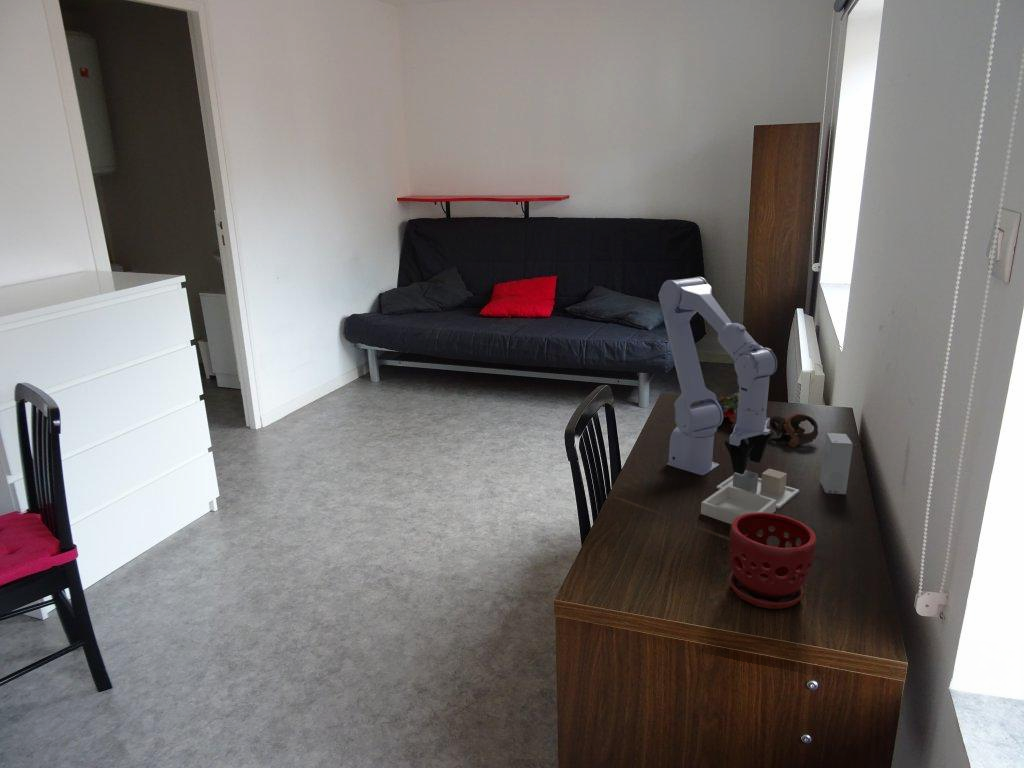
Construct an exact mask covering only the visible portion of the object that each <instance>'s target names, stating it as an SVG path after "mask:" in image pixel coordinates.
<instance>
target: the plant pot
mask: <svg viewBox="0 0 1024 768" xmlns="http://www.w3.org/2000/svg"><path fill="white" fill-rule="evenodd" d="M770 527H773V528H774V529H773V530H771V529H770ZM759 530H761V531H763V532H762V534H759V535H758V534H757V532H758V531H759ZM729 531H730V532H729V542H728V552H729V561H730V566H731V569H732V572H731V573H730V575H729V579H728V580H729V584H730V585H729V586H730V587H731V589H732V590H733V592H734V593H735V595H737V596H738V597H739V598H740V599H742V600H744V601H745V602H748V603H749V604H751V605H753V606H755V607H760V608H764V609H775V610H779V609H787V608H790V607H793V606H795V605H796V604H798V602H799V601H800V600H801V599H802V597H804V588H803V584H804V583H805V581H806V580H807V578H808V576H809V574H810V570H811V568H812V565H813V562H814V556H815V552H816V548H817V547H816V545H817V536H816V533H815V532H814V531H813V530H812V528H811V527H809V526H808V525H806V524H805V523H803V522H801V521H799V520H797V519H795V518H792V517H788V516H786V515H781V514H777V513H763V512H757V513H747V514H743V515H740V516H738V517H736V518H735V519H734V520H733V522H732V524H730V530H729ZM746 531H747V533H746V534H745V532H746ZM785 533H787V534H788V536H786V535H785ZM769 537H776V538H777V539H778V540H779V544H778V546H771V545H769V543H768V538H769ZM797 539H799V541H800V544H798V542H797ZM786 542H788V543H790V544H791V547H787V546H786V544H787V543H786Z"/></svg>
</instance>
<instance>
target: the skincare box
mask: <svg viewBox="0 0 1024 768" xmlns="http://www.w3.org/2000/svg"><path fill="white" fill-rule="evenodd" d="M853 446H854V443H852V440H851V439H850V438H849V436H848V435H847V433H833V432H827V433H826V435H825V444H824V450H823V456H822V465H821V471H820V472H821V473H820V481H819V482H820V484H821V486H822V489H823V491H824V493H826V494H837V495H847V490H848V489H847V488H848V482H849V481H848V480H849V474H850V469H851V468H850V467H851V461H852V453H853Z"/></svg>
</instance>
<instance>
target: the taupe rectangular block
mask: <svg viewBox="0 0 1024 768" xmlns="http://www.w3.org/2000/svg"><path fill="white" fill-rule="evenodd" d="M787 476H788V474H787V473H786V472H783V471H780V470H775V469H772V468H767V469H766V470H765V471H763V472H762V473H761V489H760V490H761V491H764V492H767V493H770V494H774V495H777V496H779V495H780V494H782V493H783V492H784V491H785V488H786V486H787V485H786V484H787Z"/></svg>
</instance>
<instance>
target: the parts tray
mask: <svg viewBox="0 0 1024 768" xmlns="http://www.w3.org/2000/svg"><path fill="white" fill-rule="evenodd" d="M761 479H762V477H761V478H760V477H758V485H757V491H756V492H754V493H756V494H759V495H762V496H765V497H769V498H772V499H775V500H777V501H776V509H781V508H782V507H783V506H784V505H786V504H787V502H789V501H791V500H792V499H794V497H795V496H797V494H799V493H800V489H798V488H794V487H791V486H787V485H786V488H785V491H784V492H783V493H782V494H780V495H779V496H777V495H774V494H770V493H767V492H764V491H761V490H760V489H761ZM726 485H730V486H733V475H730V477H728V478H727V479H726V480H723V481H722V482H721V483H720V484H717V485H716V489H717V490H720V489H721V488H723V487H724V486H726Z"/></svg>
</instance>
